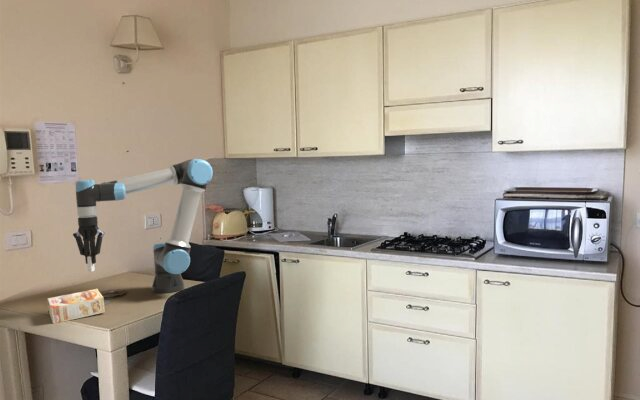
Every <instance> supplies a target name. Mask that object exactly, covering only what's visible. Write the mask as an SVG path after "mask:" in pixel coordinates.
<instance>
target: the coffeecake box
mask: <svg viewBox="0 0 640 400" xmlns="http://www.w3.org/2000/svg"><path fill="white" fill-rule="evenodd" d="M104 301H105V300H104V296H103V295H102V293H101V292H100V290H99V289H98V288H94V289H88V290H84V291H79V292H78V291H77V292H72V293H69V294H63V295H58V296H53V297H47V306H48V311H49V313H48V314H49V316H50V319H51V321H52V324H59V323H64V322H67V321H72V320H76V319H82V318H87V317H89V316H94V315H98V314H99V315H100V314H104V313H106V310H105V309H106V308H105V306H104Z"/></svg>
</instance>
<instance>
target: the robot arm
mask: <svg viewBox="0 0 640 400" xmlns="http://www.w3.org/2000/svg"><path fill="white" fill-rule="evenodd" d="M213 173H214V171H213V167H212V166H211V164H210V162H208V161H207V160H204V159H202V158H201V159H200V158H193V159H187V160H184V161H181V162H179V163H177V164H171V165H170V166H169V167H168V168H164V169H160V170H155V171H151V172H148V173H142V174H137V175H134V176H133V175H132V176H129V177H125V178H120V179H116V180H112V181H107V182H105V181H104V182H101V183H100V184H99V183H98V184H97V183H96V182H95V180H94V179H84V180H83V179H80V180H76V182H75V197H76V198H75V199H76V210H77V217H78V218H77V225H78V229H77V231H76V232H74V233H73V234H72V236H73V237H74V238H75V242H76V244H77V248H78V250H79V251H78V252H79V254H80V255H81V256H84V258H85V259H84V260H85V264H87V272H88V273H92V272H94V271H95V264H96V263H97V257H96V256H97V255H100V254H101V248H102V241H103V237H104V235H105V231H102V230H100V229H99V227H98V216H97V214H98V211H97V210H98V209H97V202H98V203H99V202H100V203H101V202H115V201H122V200H123V201H124V200H125V199H126V196H127V195H130V194H135V193H138V192H143V191H147V190H151V189H155V188H160V187H163V186H167V185H172V184H173V185H175V186H177V185H181V187H182V191H181V195H180V200H179V202H178V207H177V211H176V214H175V218H174V222H173V225H172V230H171V234H170V238H169V239H167V240H166V241H165V242H159V243H155V244H154V245H153V250H152V251H153V262H154V263H153V265H154V277H153V281H152V286H151V291H152V293H153V292H154V293H157V294H166V293H167V294H169V293H174V292H179V291H182V290H184V289H185V282H184V280H183V277H182V273H184V272H186V270H188V268H189V266H190V265H191V264H190V263H191V257H190V252H191V247H192V246H191V245H190V240H191V239H190V238H191V235H192V231H193V226H194V225H195V224H194V223H195V220H196V216H197V211H198V209H199V203H200V200H201V197H202V194H203V193H204V192H205V191H206V190H207V187H208V183H209V182H210V181H211V180H212V178H213Z"/></svg>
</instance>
